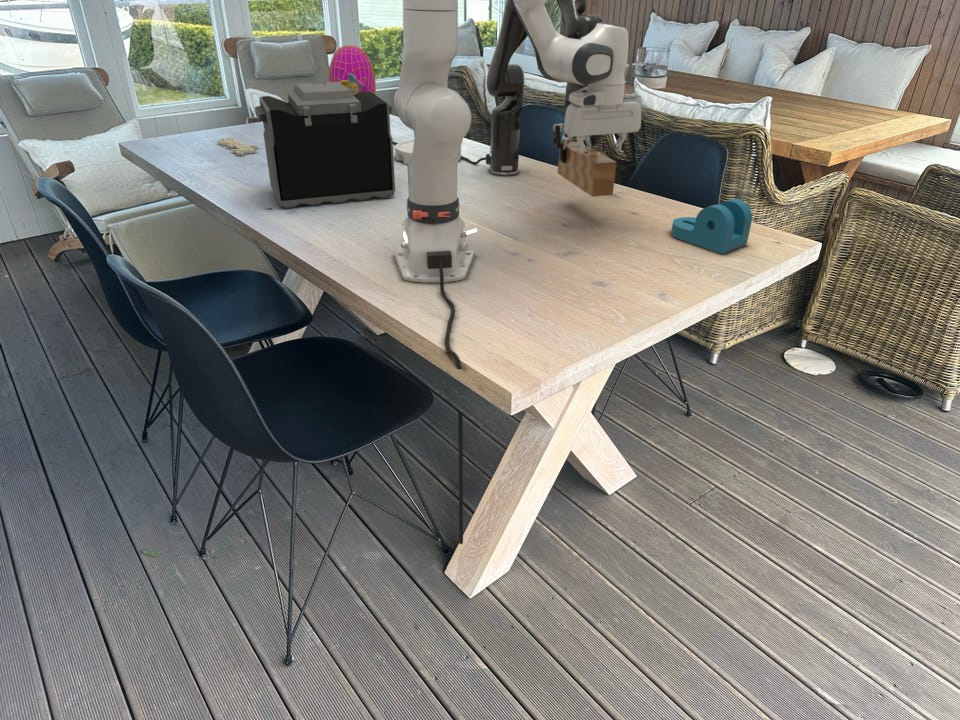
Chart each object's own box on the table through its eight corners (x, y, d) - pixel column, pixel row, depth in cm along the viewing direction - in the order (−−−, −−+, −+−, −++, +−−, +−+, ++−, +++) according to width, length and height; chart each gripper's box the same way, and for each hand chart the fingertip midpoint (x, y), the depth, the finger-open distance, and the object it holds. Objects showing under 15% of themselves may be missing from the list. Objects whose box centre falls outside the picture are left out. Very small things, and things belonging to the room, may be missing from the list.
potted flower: (342, 144, 260) (336, 73, 247) (351, 139, 266) (346, 70, 254) (365, 146, 257) (360, 74, 245) (374, 141, 264) (369, 71, 251)
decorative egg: (362, 116, 305) (357, 42, 290) (386, 123, 292) (382, 46, 277) (324, 121, 294) (316, 45, 279) (347, 129, 281) (340, 49, 266)
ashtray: (454, 167, 232) (454, 155, 230) (388, 164, 235) (387, 152, 233) (466, 151, 252) (466, 140, 250) (404, 148, 255) (404, 137, 253)
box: (612, 194, 180) (616, 161, 175) (592, 196, 178) (595, 163, 174) (576, 171, 198) (579, 141, 194) (557, 173, 196) (559, 142, 192)
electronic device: (382, 177, 221) (376, 78, 206) (401, 197, 203) (396, 90, 188) (265, 188, 209) (249, 84, 194) (274, 210, 192) (257, 97, 176)
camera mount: (746, 244, 173) (755, 203, 168) (722, 254, 167) (730, 212, 162) (687, 225, 185) (693, 186, 180) (662, 233, 179) (668, 194, 174)
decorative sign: (265, 149, 247) (238, 153, 242) (266, 152, 248) (239, 156, 243) (238, 135, 265) (212, 139, 260) (239, 138, 266) (213, 141, 260)
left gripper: (636, 90, 175) (630, 146, 182) (563, 94, 170) (559, 151, 177) (649, 95, 170) (642, 151, 177) (573, 99, 164) (569, 157, 171)
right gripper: (597, 94, 188) (591, 156, 197) (548, 97, 184) (545, 160, 193) (610, 99, 182) (603, 163, 191) (560, 102, 178) (555, 167, 187)
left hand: (600, 151), depth 177 cm, fingers open, 8 cm apart
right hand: (574, 161), depth 192 cm, fingers closed on box, 6 cm apart
